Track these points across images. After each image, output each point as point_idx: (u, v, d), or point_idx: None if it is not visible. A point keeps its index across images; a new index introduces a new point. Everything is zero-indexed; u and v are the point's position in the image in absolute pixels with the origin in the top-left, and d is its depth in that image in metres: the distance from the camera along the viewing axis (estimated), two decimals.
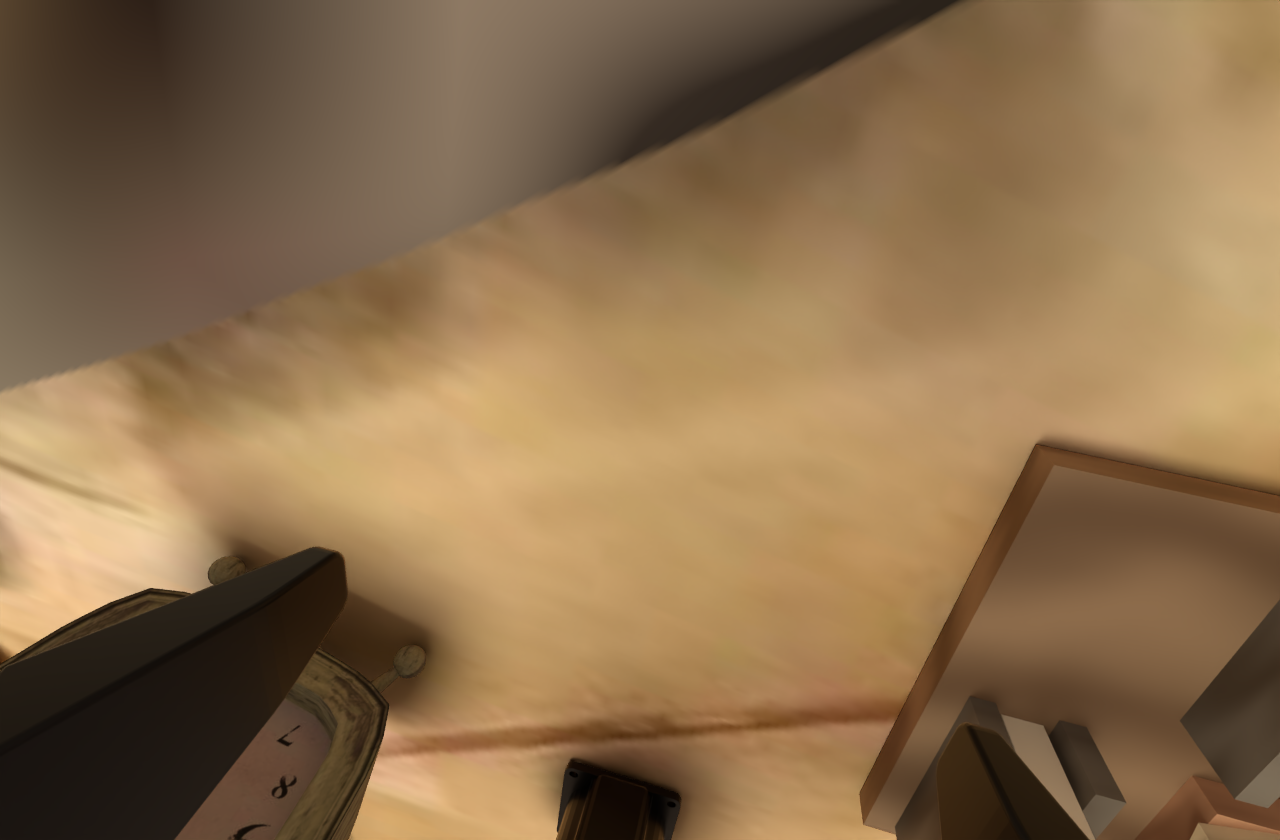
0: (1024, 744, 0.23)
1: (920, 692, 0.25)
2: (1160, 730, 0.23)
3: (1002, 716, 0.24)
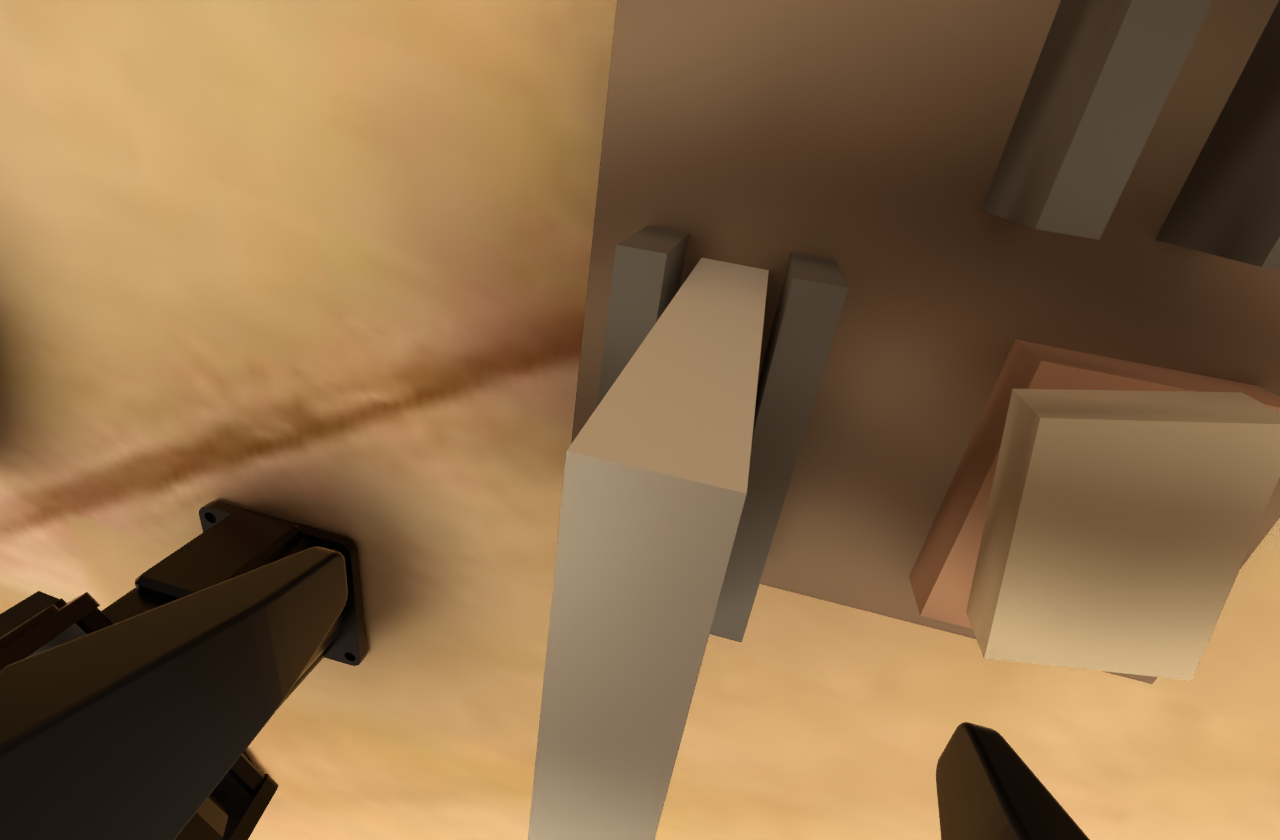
0: (716, 270, 0.13)
1: None
2: (952, 241, 0.13)
3: (702, 258, 0.14)
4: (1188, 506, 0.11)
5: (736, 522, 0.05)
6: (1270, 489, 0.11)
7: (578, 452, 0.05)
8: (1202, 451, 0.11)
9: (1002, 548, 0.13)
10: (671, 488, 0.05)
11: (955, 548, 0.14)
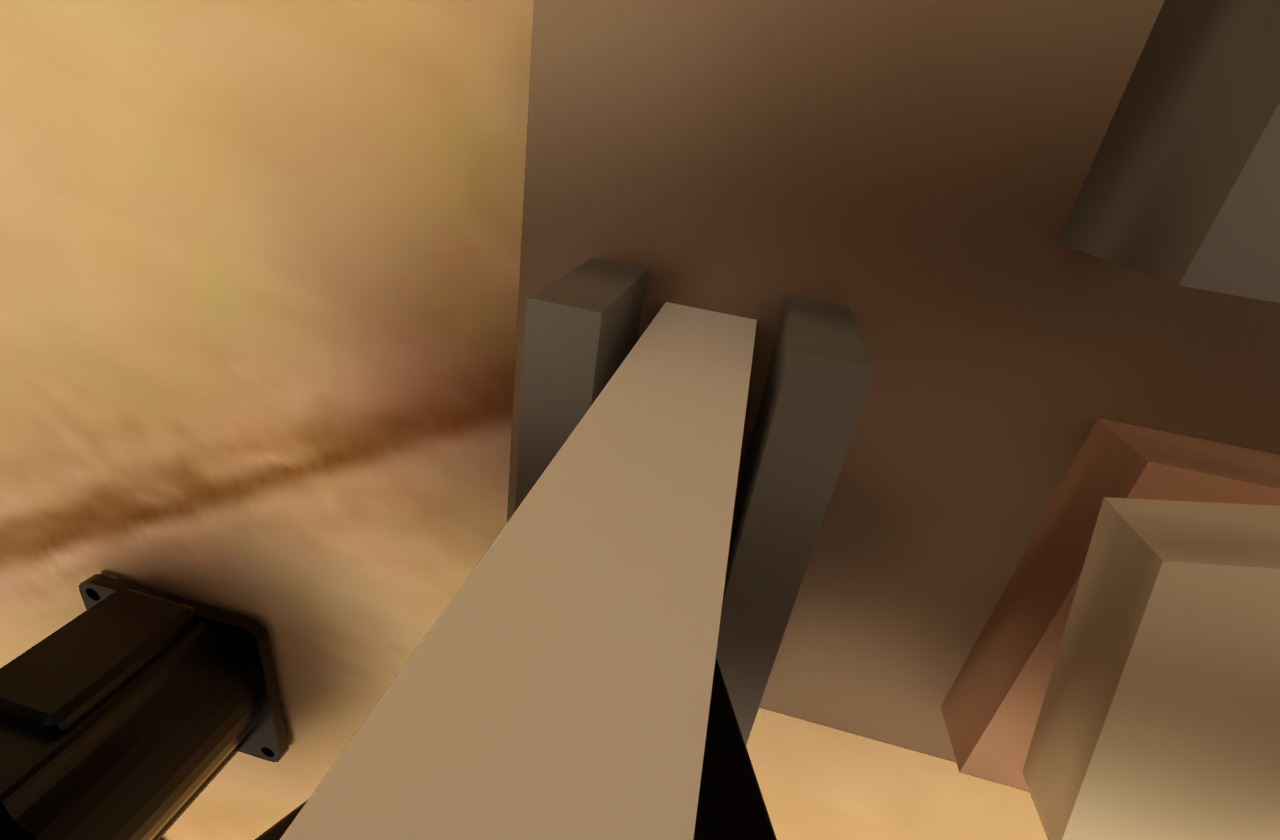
0: (682, 325, 0.09)
1: None
2: (1014, 284, 0.09)
3: (666, 303, 0.10)
4: None
5: None
6: None
7: None
8: None
9: (1087, 721, 0.09)
10: None
11: (1010, 695, 0.10)
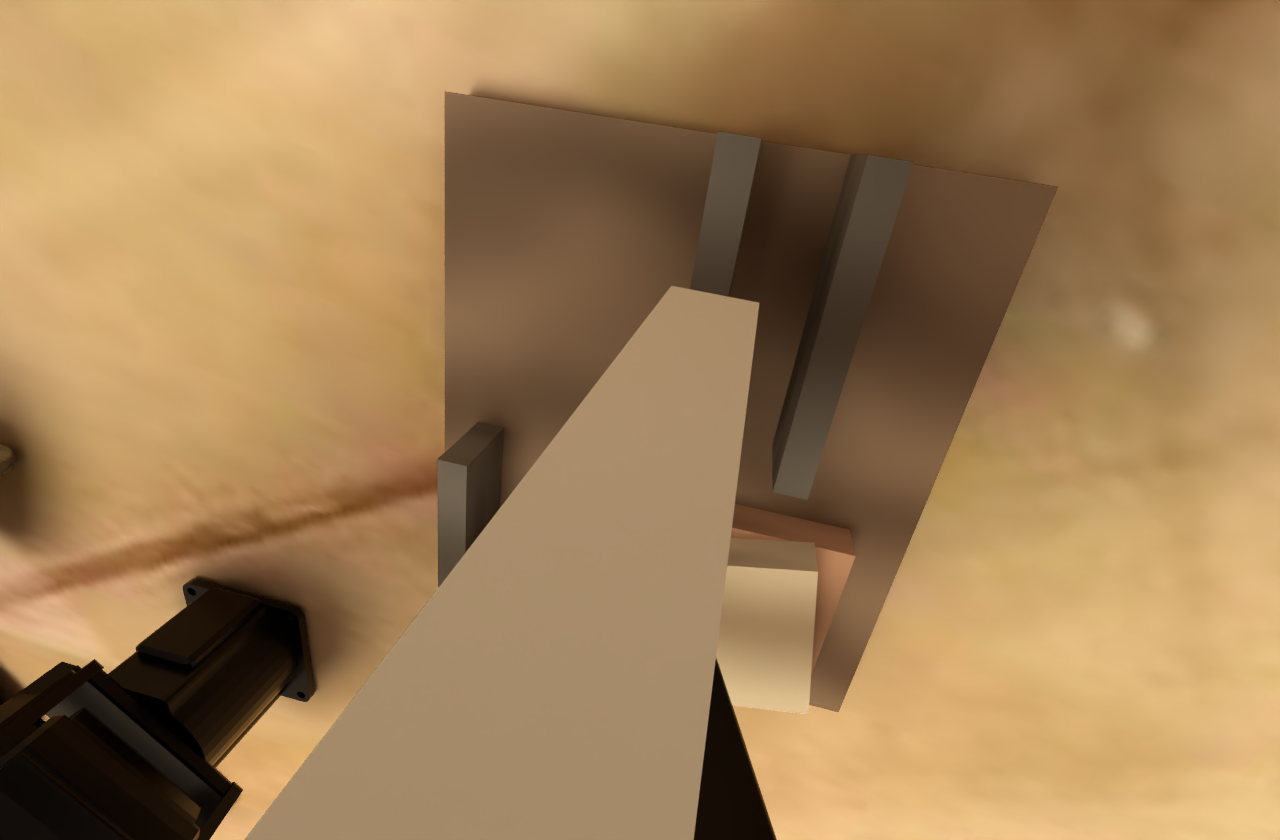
0: (687, 306, 0.10)
1: None
2: None
3: (671, 287, 0.11)
4: (775, 613, 0.19)
5: None
6: (815, 605, 0.19)
7: None
8: (773, 583, 0.18)
9: None
10: None
11: None
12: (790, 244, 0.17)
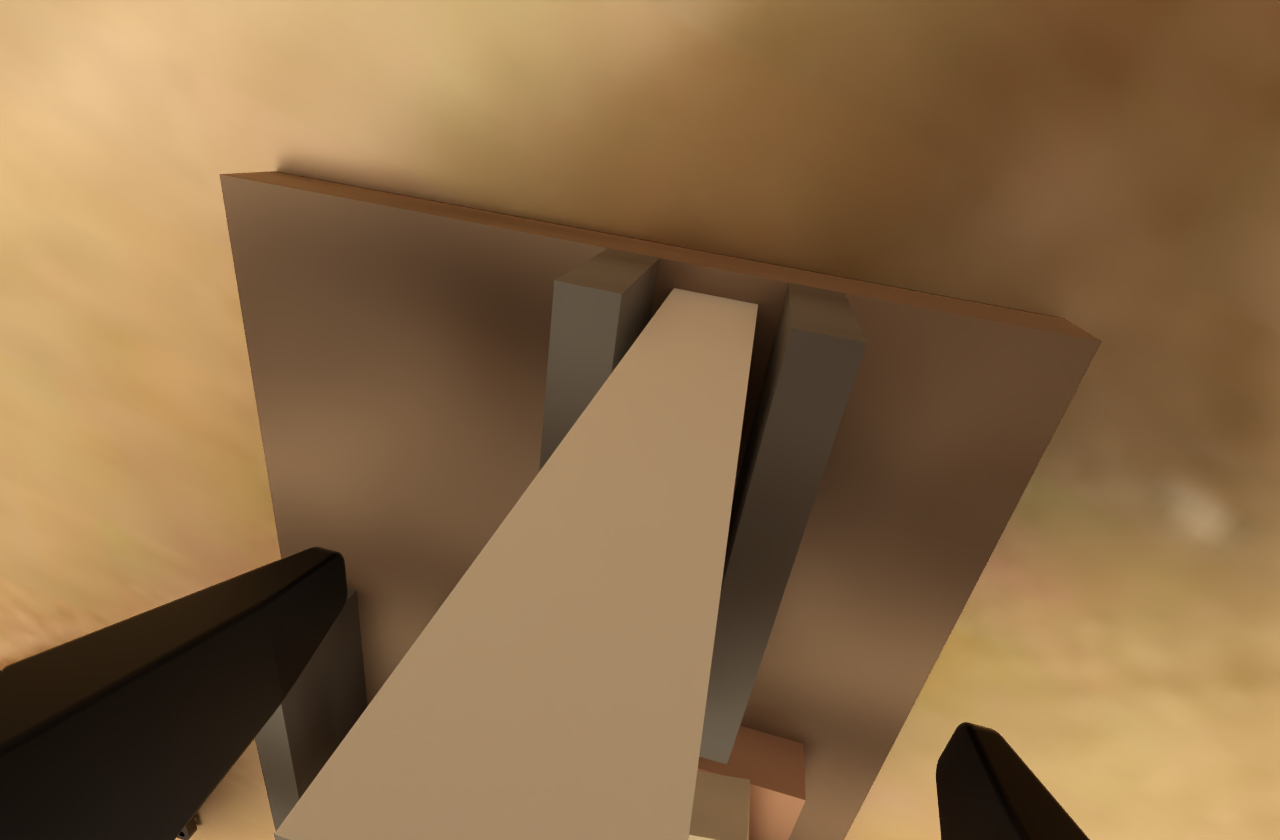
0: (689, 308, 0.10)
1: None
2: None
3: (674, 289, 0.11)
4: None
5: None
6: None
7: None
8: None
9: None
10: None
11: None
12: None
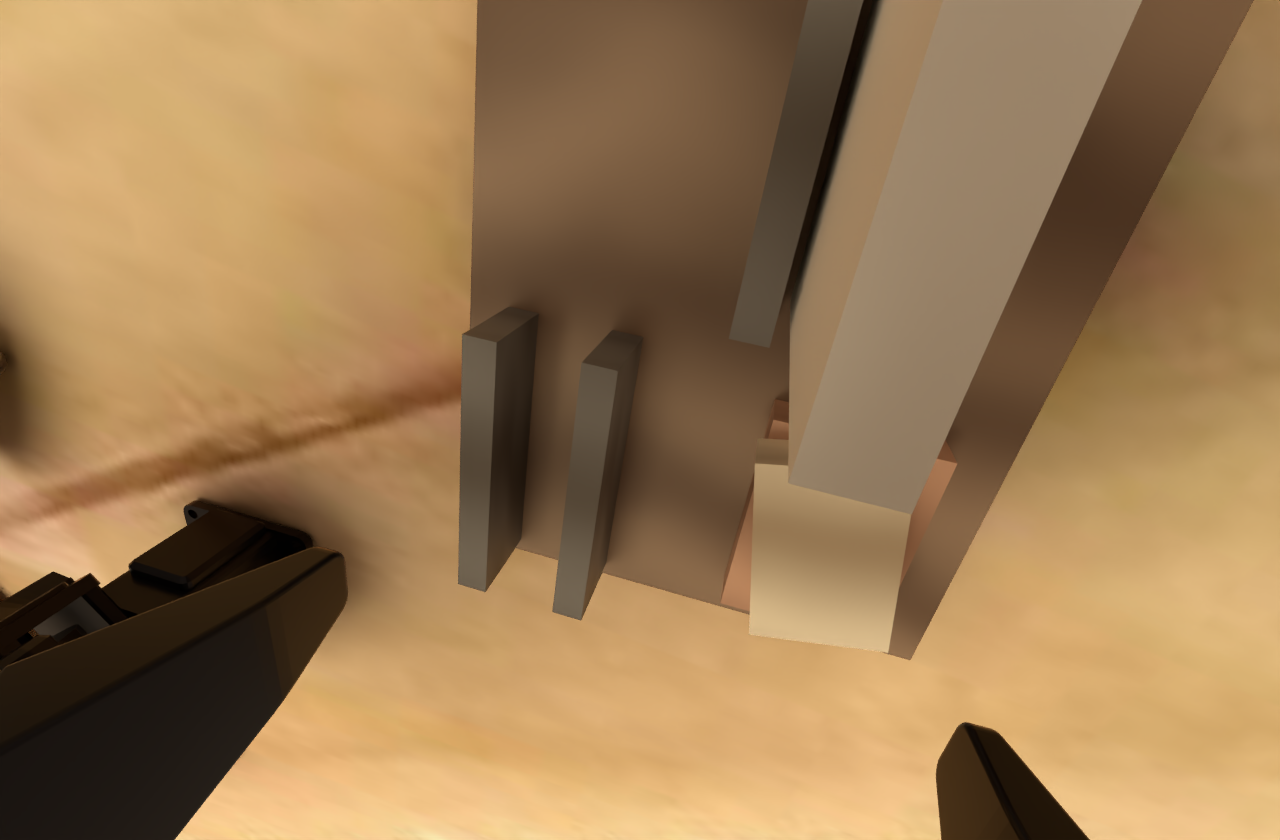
0: None
1: None
2: (722, 327, 0.17)
3: None
4: (860, 527, 0.16)
5: None
6: (910, 517, 0.15)
7: None
8: None
9: None
10: None
11: (737, 552, 0.19)
12: None
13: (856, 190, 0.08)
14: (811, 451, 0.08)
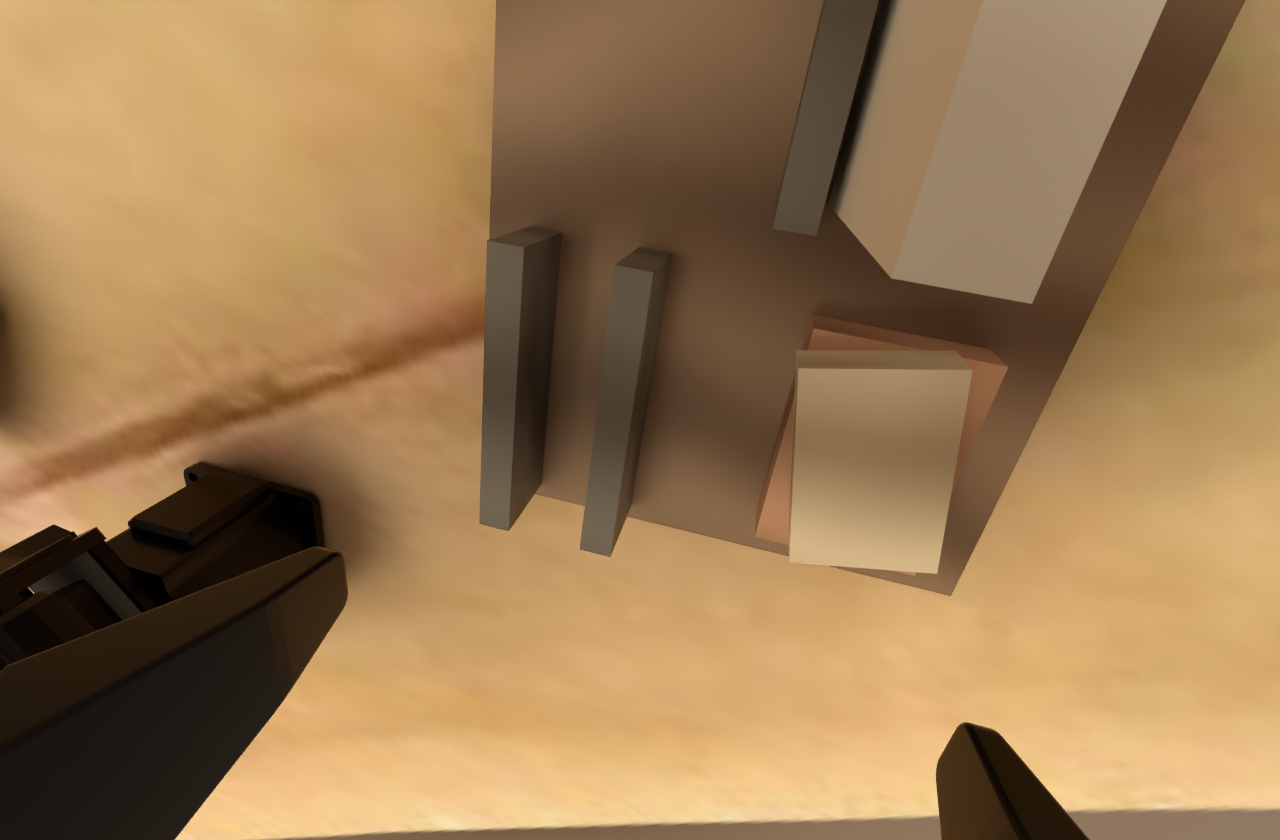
0: None
1: None
2: (756, 238, 0.17)
3: None
4: (909, 434, 0.15)
5: None
6: (963, 420, 0.15)
7: None
8: (910, 391, 0.15)
9: (792, 473, 0.17)
10: None
11: (773, 479, 0.18)
12: None
13: None
14: (920, 235, 0.07)
